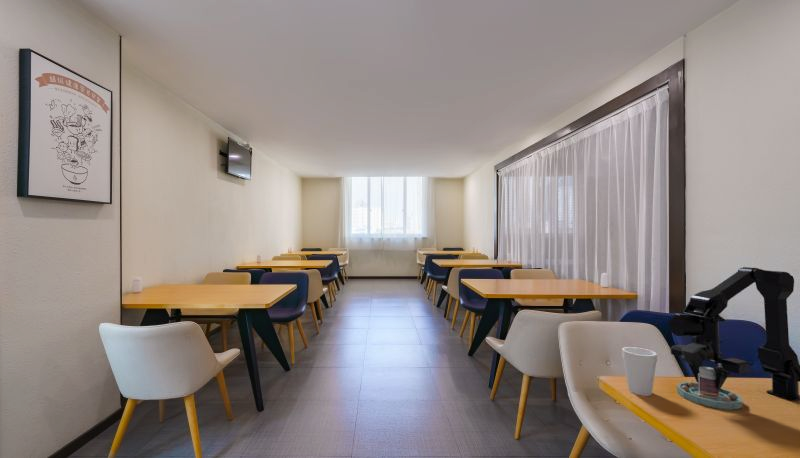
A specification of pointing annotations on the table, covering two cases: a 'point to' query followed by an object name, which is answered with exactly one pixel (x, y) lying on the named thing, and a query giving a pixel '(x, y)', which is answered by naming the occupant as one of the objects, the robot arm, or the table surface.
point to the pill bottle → (707, 382)
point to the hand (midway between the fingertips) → (708, 385)
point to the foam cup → (639, 369)
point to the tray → (724, 401)
